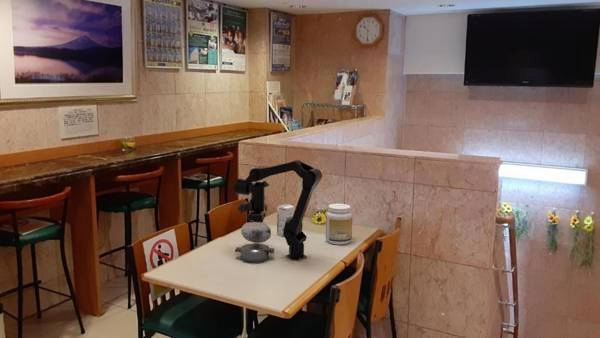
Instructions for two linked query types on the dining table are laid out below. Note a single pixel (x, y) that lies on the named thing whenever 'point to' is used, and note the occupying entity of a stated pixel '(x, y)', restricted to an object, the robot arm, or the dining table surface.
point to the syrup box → (283, 217)
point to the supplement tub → (339, 224)
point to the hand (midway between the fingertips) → (258, 231)
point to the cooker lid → (256, 231)
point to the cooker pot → (255, 252)
